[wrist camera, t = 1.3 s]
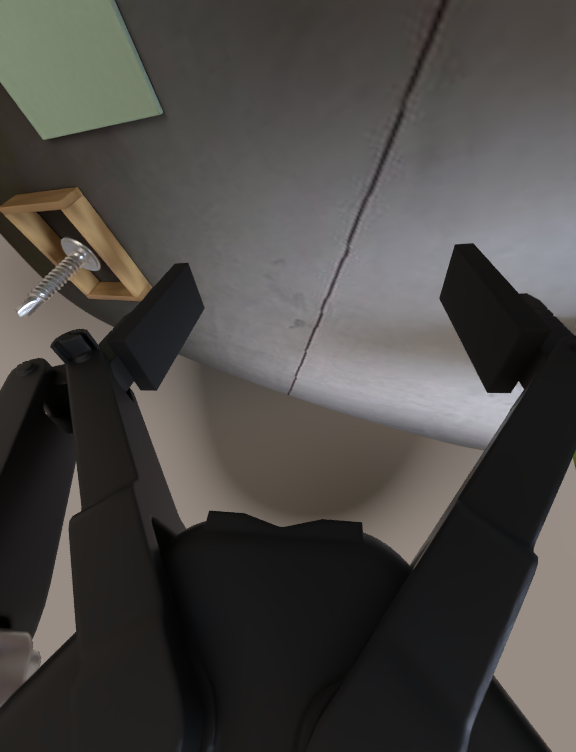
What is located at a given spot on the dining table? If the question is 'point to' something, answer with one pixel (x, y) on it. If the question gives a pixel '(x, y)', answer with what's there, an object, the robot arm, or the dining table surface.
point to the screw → (61, 273)
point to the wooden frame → (92, 229)
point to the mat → (72, 65)
